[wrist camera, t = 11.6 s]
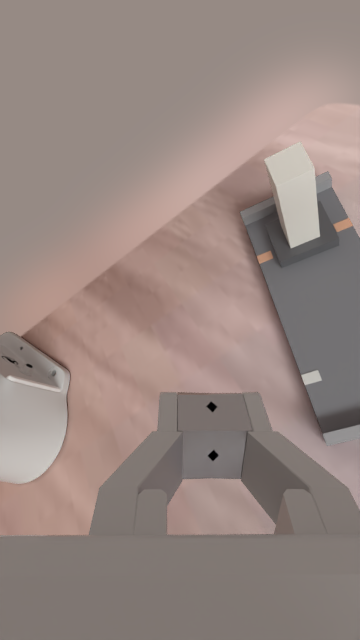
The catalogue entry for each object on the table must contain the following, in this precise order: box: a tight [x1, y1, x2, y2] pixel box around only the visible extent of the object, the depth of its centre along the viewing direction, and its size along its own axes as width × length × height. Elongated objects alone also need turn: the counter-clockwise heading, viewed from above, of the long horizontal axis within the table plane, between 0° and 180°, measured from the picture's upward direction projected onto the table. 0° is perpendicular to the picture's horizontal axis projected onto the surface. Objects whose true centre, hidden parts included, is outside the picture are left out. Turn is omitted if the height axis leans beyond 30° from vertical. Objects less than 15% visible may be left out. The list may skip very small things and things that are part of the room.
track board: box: [240, 171, 360, 446], centre depth 34 cm, size 26×10×4 cm, turn 14°
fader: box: [264, 142, 339, 268], centre depth 32 cm, size 5×6×11 cm
